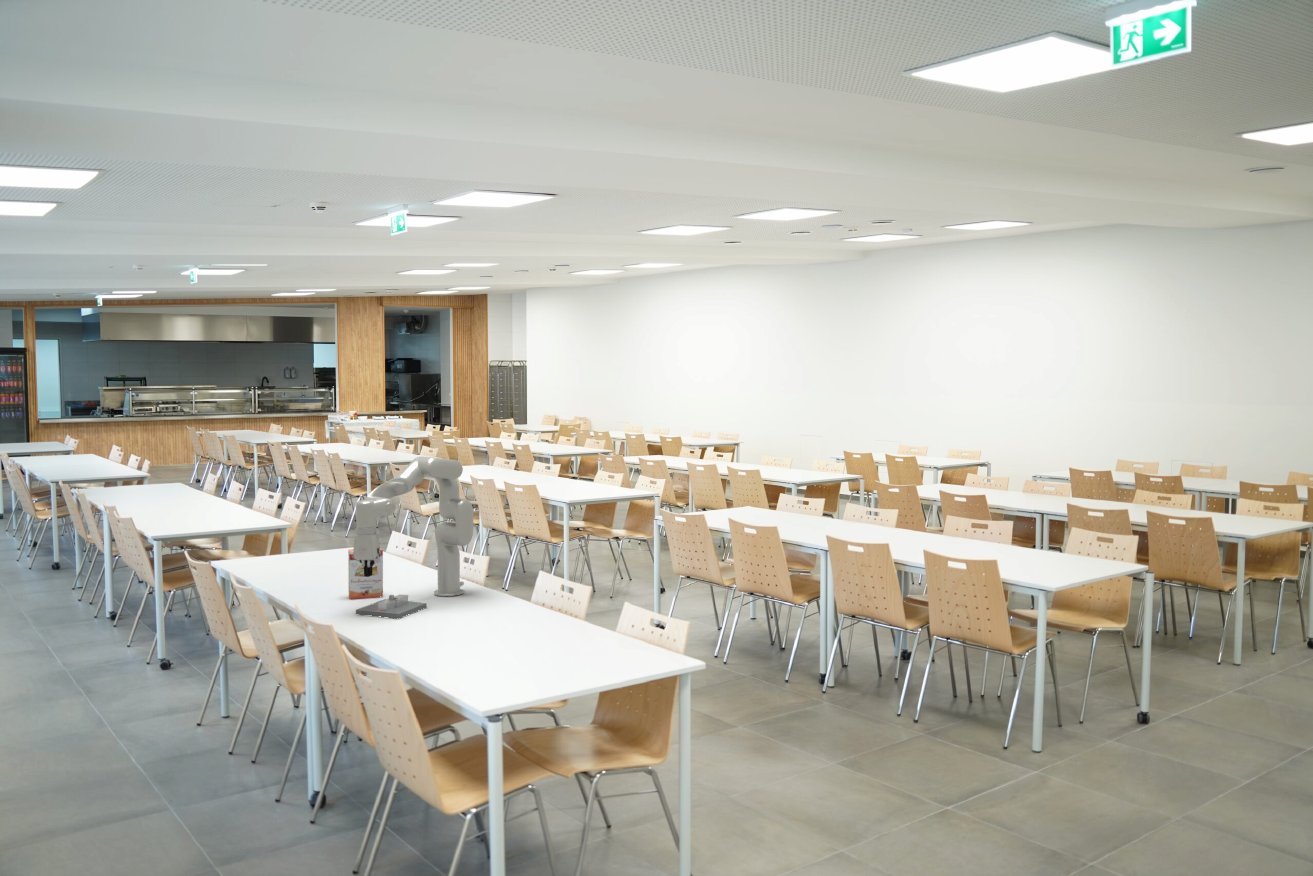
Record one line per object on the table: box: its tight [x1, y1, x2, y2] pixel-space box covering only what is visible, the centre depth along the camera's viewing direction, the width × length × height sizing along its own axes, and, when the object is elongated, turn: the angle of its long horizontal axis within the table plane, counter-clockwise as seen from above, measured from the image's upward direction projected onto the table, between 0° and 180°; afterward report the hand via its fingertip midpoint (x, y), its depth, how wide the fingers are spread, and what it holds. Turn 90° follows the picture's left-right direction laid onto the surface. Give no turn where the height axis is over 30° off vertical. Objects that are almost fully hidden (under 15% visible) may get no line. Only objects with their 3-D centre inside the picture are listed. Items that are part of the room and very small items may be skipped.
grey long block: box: [378, 593, 409, 611], centre depth 399 cm, size 5×16×3 cm, turn 163°
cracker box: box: [347, 547, 384, 600], centre depth 424 cm, size 14×6×21 cm, turn 112°
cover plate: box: [355, 594, 428, 620], centre depth 399 cm, size 20×20×6 cm
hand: (368, 576), depth 395 cm, fingers closed
